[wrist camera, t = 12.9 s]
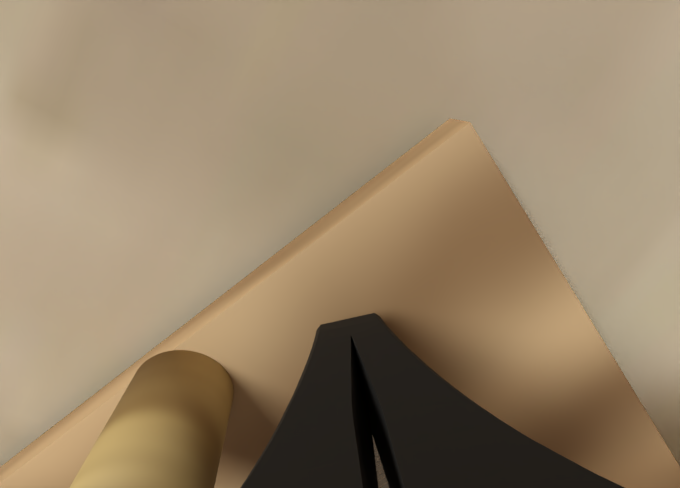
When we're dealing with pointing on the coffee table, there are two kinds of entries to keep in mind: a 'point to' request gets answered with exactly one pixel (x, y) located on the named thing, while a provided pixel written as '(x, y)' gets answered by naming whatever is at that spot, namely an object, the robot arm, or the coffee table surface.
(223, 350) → the wooden base with peg
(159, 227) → the coffee table surface
